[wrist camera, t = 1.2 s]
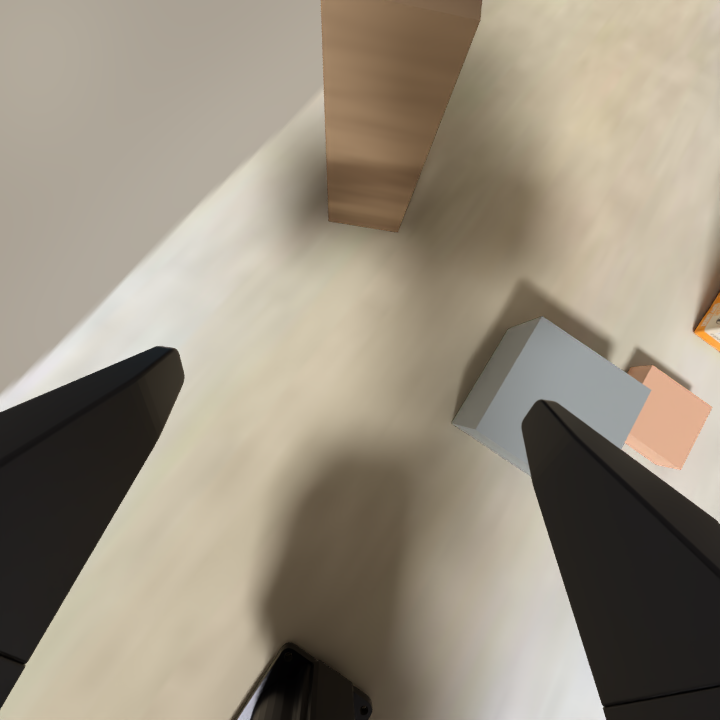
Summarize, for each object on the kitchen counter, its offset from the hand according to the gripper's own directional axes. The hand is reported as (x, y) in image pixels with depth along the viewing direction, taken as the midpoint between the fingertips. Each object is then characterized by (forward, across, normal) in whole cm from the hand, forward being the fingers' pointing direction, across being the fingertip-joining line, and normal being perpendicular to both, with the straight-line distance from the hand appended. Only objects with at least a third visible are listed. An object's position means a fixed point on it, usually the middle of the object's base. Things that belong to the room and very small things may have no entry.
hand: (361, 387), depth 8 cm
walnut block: (+20, 0, -1) cm, 20 cm away
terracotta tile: (+11, -22, +9) cm, 26 cm away
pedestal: (+10, -13, +9) cm, 19 cm away
